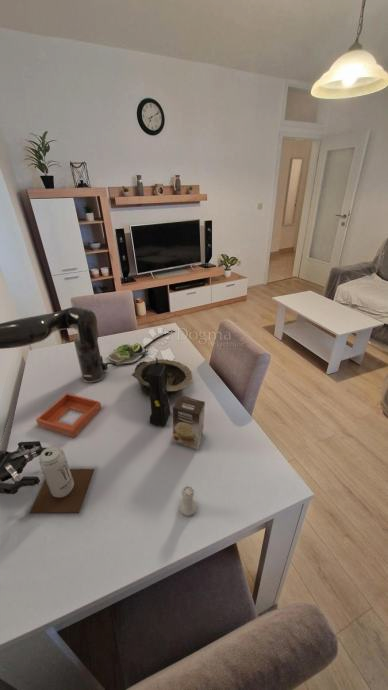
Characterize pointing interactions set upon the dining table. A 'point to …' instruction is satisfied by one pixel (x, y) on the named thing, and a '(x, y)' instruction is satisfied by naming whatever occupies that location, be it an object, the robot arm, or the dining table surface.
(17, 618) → the dining table surface
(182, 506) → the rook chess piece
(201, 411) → the coffee box
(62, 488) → the energy drink can
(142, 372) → the stone bowl
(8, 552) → the dining table surface
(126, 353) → the salad plate
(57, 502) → the coaster
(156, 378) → the portable radio
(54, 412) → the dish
